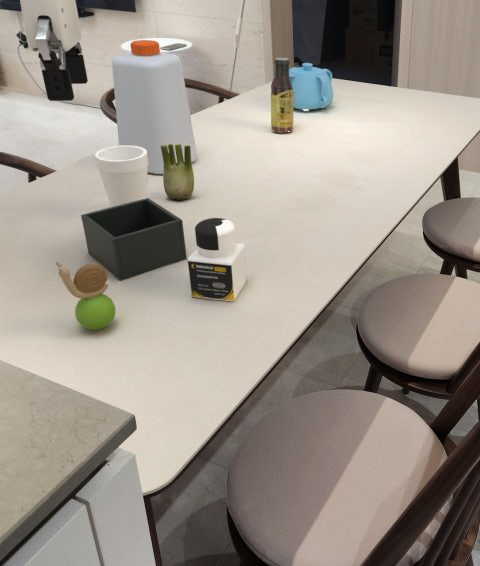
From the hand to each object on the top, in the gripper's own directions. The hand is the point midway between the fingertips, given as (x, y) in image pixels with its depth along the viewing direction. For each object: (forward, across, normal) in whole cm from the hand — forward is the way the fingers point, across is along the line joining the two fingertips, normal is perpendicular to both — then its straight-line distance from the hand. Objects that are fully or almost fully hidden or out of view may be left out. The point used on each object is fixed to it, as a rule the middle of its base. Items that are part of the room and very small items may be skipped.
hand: (69, 91), depth 89 cm
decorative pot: (+32, -108, +45) cm, 121 cm away
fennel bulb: (+32, -36, +9) cm, 49 cm away
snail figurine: (+32, +13, 0) cm, 34 cm away
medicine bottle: (+32, +4, +18) cm, 37 cm away
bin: (+31, -10, +4) cm, 33 cm away
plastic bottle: (+31, -58, +3) cm, 66 cm away
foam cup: (+31, -28, 0) cm, 42 cm away
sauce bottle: (+32, -83, +35) cm, 95 cm away
